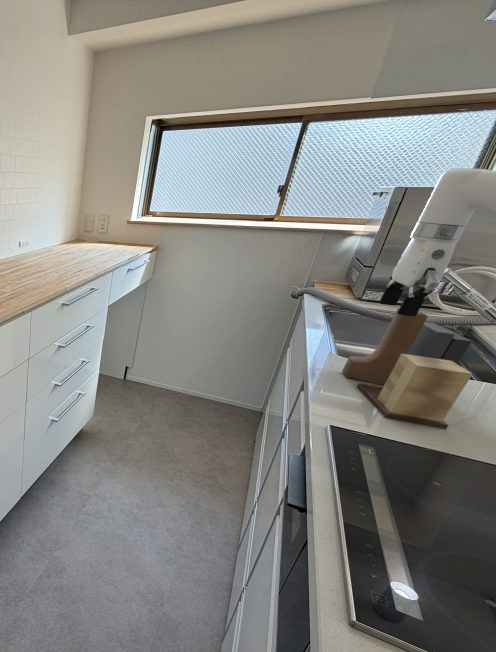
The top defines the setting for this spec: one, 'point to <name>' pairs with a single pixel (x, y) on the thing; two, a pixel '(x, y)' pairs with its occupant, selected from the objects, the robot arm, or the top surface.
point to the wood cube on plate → (419, 390)
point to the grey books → (439, 343)
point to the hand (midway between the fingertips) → (396, 309)
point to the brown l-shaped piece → (386, 350)
